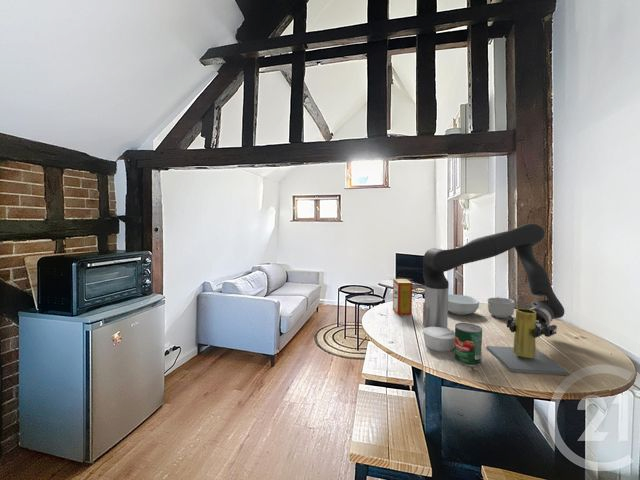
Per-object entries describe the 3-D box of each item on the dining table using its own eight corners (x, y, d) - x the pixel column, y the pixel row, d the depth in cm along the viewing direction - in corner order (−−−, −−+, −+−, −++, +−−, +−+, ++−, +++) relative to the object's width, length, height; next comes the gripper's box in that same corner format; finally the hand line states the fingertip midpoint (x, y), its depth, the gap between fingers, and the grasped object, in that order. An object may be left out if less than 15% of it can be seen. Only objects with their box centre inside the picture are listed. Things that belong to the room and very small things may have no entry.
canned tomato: (452, 362, 93) (453, 328, 92) (455, 352, 100) (456, 321, 99) (480, 368, 89) (481, 333, 88) (481, 358, 95) (483, 325, 95)
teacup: (514, 321, 131) (514, 304, 130) (486, 317, 137) (487, 300, 136) (513, 313, 143) (513, 297, 142) (487, 309, 149) (488, 294, 148)
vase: (540, 359, 90) (542, 314, 89) (517, 357, 92) (519, 313, 91) (530, 350, 96) (531, 308, 95) (509, 349, 98) (511, 307, 97)
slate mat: (510, 371, 87) (510, 368, 87) (486, 348, 103) (486, 345, 103) (568, 375, 85) (569, 371, 85) (535, 351, 101) (535, 348, 101)
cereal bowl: (437, 313, 142) (437, 299, 141) (444, 305, 156) (444, 292, 155) (476, 320, 132) (476, 305, 132) (480, 311, 146) (481, 297, 145)
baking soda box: (411, 315, 140) (412, 282, 139) (397, 315, 140) (398, 282, 139) (405, 309, 149) (406, 278, 148) (392, 309, 149) (393, 278, 148)
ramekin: (454, 356, 97) (455, 340, 97) (419, 349, 103) (420, 334, 102) (457, 344, 107) (457, 330, 107) (425, 338, 112) (425, 324, 112)
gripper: (513, 304, 108) (497, 314, 97) (563, 313, 97) (552, 326, 86) (512, 324, 109) (497, 336, 97) (561, 335, 98) (551, 350, 87)
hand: (523, 331), depth 92 cm, fingers closed on vase, 5 cm apart
